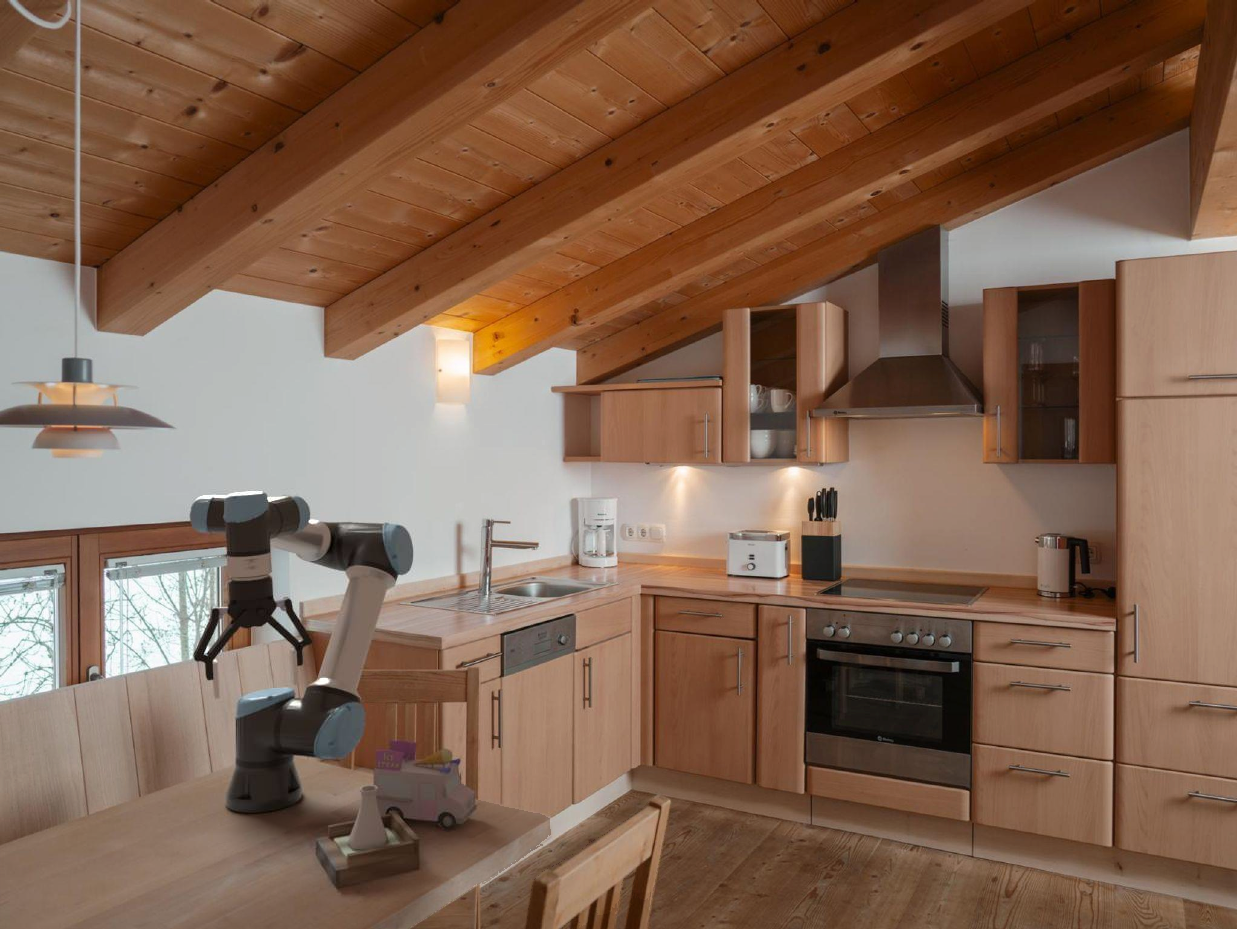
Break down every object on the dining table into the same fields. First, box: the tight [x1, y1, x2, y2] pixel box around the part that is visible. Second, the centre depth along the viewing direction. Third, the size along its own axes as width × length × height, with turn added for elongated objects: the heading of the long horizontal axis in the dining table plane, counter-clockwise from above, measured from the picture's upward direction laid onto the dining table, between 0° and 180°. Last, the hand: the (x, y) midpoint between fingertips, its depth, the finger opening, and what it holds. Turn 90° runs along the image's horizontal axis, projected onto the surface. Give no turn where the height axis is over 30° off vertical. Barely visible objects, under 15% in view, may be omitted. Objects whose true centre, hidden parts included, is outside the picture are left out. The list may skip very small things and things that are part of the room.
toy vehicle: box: [372, 739, 478, 831], centre depth 183 cm, size 9×20×15 cm, turn 78°
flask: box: [348, 784, 389, 850], centre depth 164 cm, size 7×7×10 cm
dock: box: [315, 810, 421, 889], centre depth 164 cm, size 15×15×6 cm
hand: (256, 689), depth 167 cm, fingers open, 13 cm apart
